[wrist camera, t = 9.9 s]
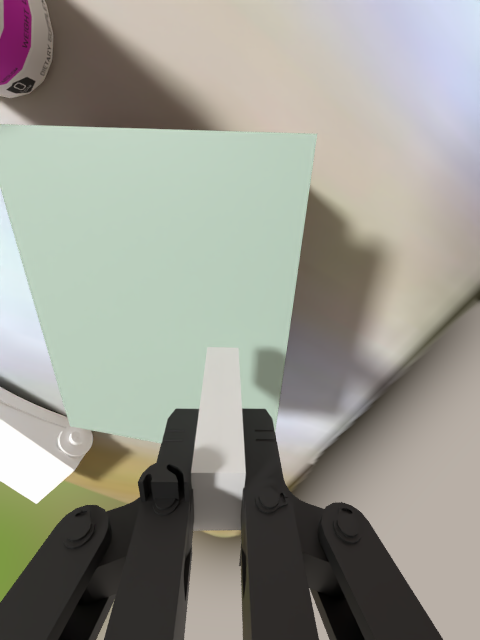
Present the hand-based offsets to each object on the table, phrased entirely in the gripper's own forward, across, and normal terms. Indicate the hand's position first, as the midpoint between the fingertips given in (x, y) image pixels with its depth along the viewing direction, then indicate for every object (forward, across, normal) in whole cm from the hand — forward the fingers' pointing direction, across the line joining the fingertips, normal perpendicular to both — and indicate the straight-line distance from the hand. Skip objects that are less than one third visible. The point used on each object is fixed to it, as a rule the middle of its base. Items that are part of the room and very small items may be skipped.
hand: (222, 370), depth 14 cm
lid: (+5, -4, 0) cm, 7 cm away
